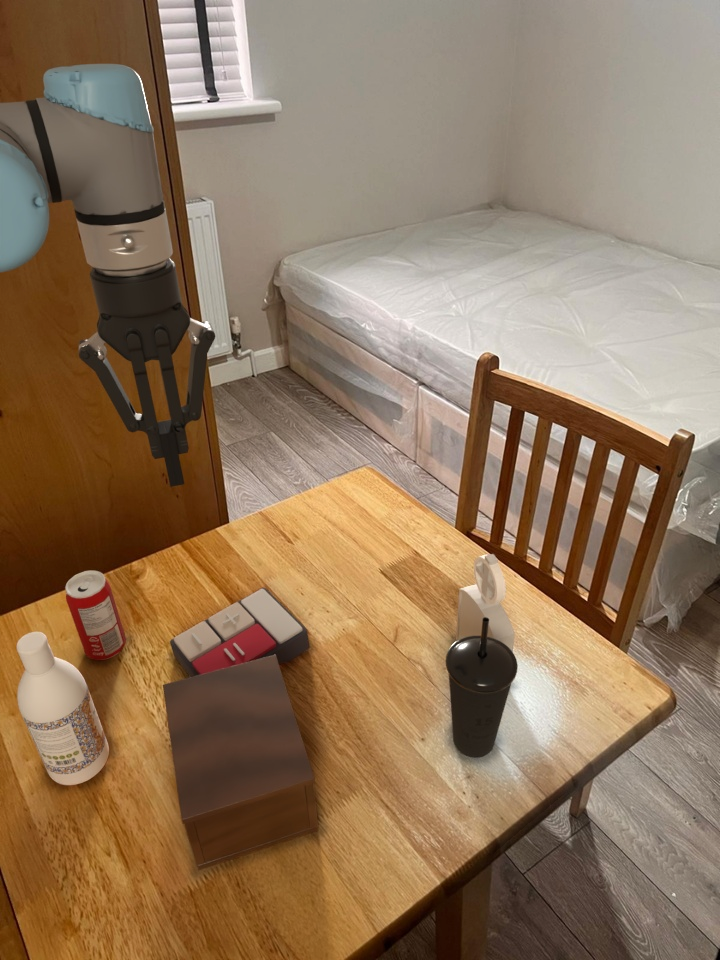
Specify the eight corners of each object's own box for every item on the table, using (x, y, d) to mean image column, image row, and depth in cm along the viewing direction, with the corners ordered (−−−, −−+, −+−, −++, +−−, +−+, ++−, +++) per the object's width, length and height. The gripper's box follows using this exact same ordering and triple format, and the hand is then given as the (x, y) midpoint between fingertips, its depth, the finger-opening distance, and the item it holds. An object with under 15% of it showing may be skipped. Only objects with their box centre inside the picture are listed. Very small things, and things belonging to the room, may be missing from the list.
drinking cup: (430, 724, 88) (435, 604, 77) (486, 705, 90) (500, 585, 79) (459, 778, 82) (470, 656, 71) (518, 756, 84) (538, 634, 73)
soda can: (101, 627, 103) (80, 563, 96) (134, 636, 101) (115, 572, 94) (76, 656, 98) (53, 591, 92) (111, 666, 97) (89, 601, 90)
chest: (318, 830, 78) (312, 775, 72) (197, 871, 74) (182, 816, 69) (283, 714, 90) (276, 659, 84) (178, 744, 87) (163, 689, 81)
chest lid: (315, 783, 71) (314, 778, 71) (183, 824, 68) (181, 819, 68) (276, 659, 84) (275, 654, 84) (163, 689, 81) (162, 684, 81)
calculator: (166, 636, 96) (263, 582, 103) (174, 658, 98) (267, 603, 105) (207, 688, 89) (307, 626, 96) (213, 710, 91) (311, 648, 98)
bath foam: (116, 769, 84) (73, 650, 73) (54, 798, 81) (-1, 678, 70) (102, 726, 89) (59, 608, 78) (43, 751, 86) (-10, 632, 75)
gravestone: (473, 634, 100) (483, 531, 90) (507, 685, 93) (522, 580, 82) (455, 639, 99) (462, 537, 89) (488, 692, 92) (500, 586, 82)
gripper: (54, 286, 61) (115, 511, 74) (210, 266, 64) (242, 485, 78) (55, 259, 67) (111, 472, 80) (198, 242, 70) (229, 449, 83)
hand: (175, 478), depth 79 cm, fingers closed
